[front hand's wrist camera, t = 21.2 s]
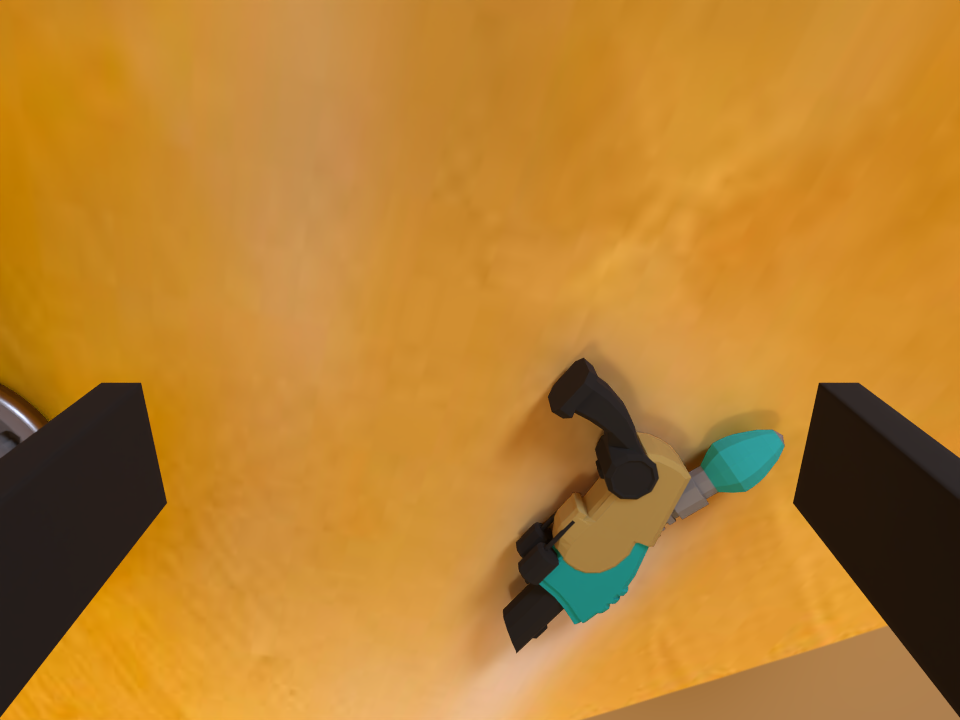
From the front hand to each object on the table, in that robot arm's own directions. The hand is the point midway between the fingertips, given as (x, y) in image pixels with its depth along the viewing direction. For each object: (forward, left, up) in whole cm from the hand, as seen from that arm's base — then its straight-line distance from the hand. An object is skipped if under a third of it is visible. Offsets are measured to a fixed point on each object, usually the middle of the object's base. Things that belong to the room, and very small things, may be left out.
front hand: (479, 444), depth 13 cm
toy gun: (-18, -13, -30) cm, 37 cm away
